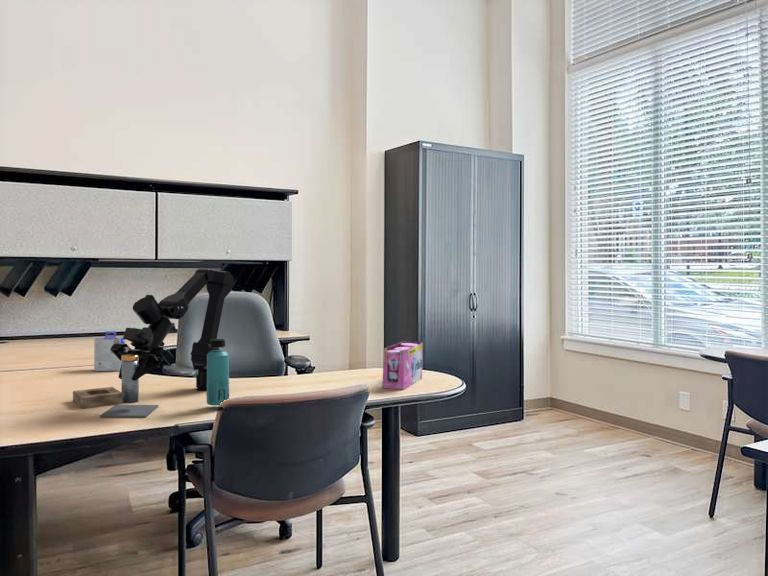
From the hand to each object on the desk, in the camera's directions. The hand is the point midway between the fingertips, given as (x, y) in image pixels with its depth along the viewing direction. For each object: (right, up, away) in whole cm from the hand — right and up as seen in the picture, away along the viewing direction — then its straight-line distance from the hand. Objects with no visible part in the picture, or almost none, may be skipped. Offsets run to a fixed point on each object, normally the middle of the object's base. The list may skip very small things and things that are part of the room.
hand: (126, 379), depth 170 cm
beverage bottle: (+23, -10, +8) cm, 26 cm away
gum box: (+78, -9, +50) cm, 93 cm away
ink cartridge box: (-32, -6, +62) cm, 70 cm away
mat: (0, -9, +2) cm, 10 cm away
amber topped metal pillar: (0, -7, +2) cm, 7 cm away
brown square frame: (-14, -9, +12) cm, 20 cm away
